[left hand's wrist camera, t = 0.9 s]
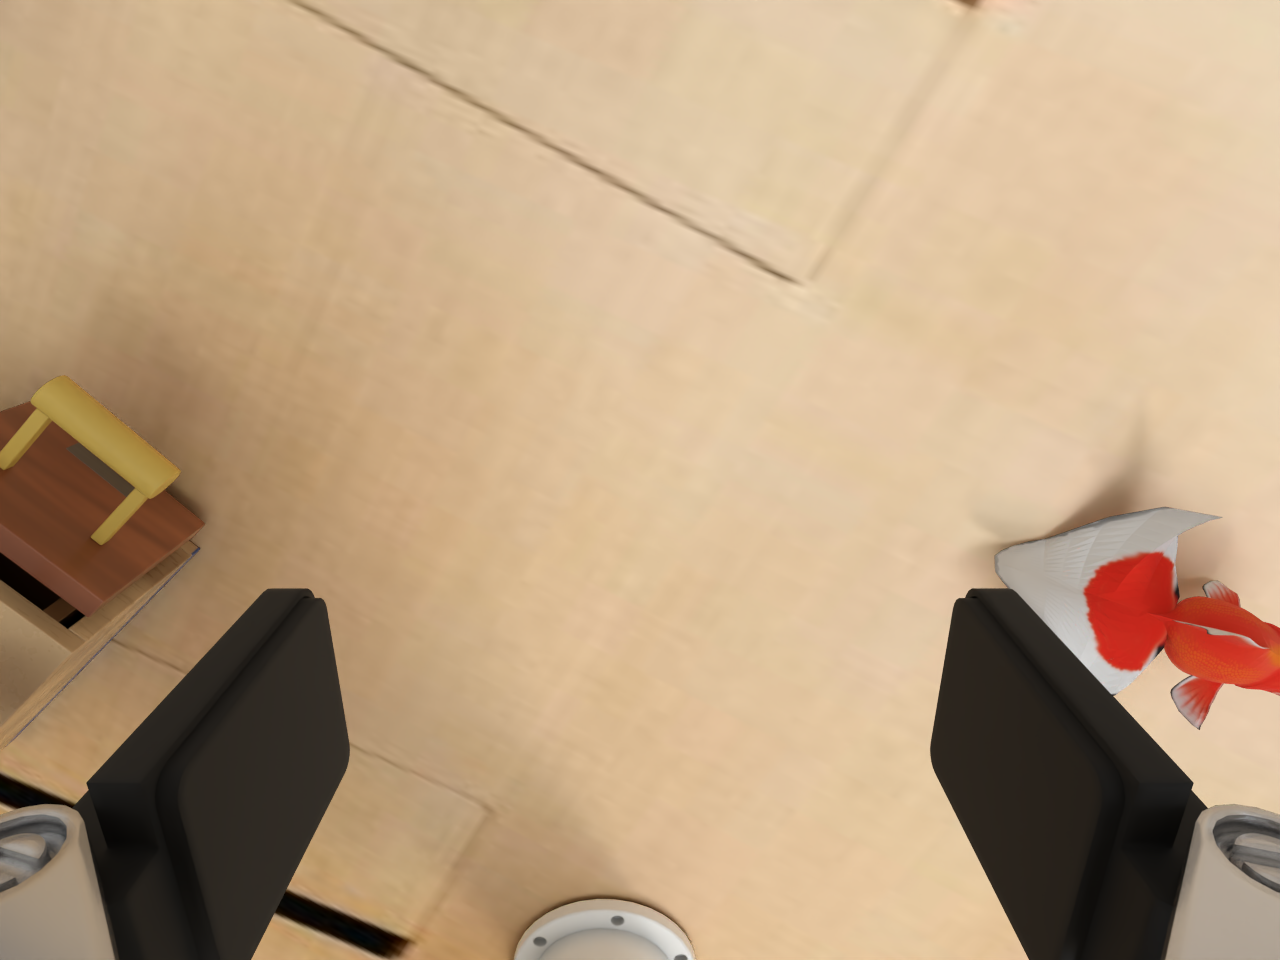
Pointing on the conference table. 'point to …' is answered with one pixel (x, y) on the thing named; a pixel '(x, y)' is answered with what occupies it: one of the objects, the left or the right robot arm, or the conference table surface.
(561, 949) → the left robot arm
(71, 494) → the drawer
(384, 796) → the conference table surface
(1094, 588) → the fish
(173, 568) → the cabinet
